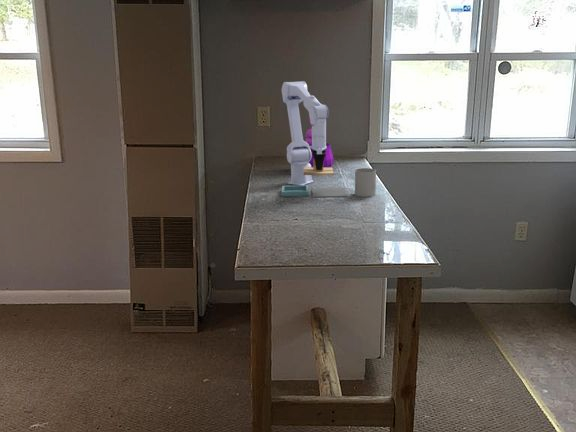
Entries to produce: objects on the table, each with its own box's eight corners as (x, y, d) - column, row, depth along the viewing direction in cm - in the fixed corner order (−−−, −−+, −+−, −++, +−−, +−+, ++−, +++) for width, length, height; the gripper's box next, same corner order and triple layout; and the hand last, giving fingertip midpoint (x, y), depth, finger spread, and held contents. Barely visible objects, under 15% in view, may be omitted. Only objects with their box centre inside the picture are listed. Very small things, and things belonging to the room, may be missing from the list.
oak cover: (303, 169, 258) (303, 157, 256) (332, 169, 257) (332, 157, 256) (303, 175, 246) (303, 163, 245) (333, 175, 246) (333, 163, 244)
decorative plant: (290, 168, 305) (289, 107, 296) (325, 165, 310) (325, 105, 302) (302, 175, 287) (301, 110, 279) (339, 172, 292) (339, 108, 284)
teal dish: (282, 190, 260) (282, 185, 259) (308, 190, 260) (308, 185, 259) (281, 196, 249) (281, 192, 249) (308, 196, 249) (308, 191, 248)
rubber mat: (311, 189, 261) (311, 188, 261) (344, 188, 261) (344, 187, 261) (312, 197, 247) (312, 196, 247) (347, 196, 247) (347, 195, 247)
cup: (374, 197, 246) (375, 172, 244) (354, 196, 248) (354, 172, 245) (375, 192, 254) (376, 168, 252) (356, 191, 256) (356, 167, 253)
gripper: (308, 133, 255) (309, 165, 258) (309, 138, 241) (309, 172, 244) (325, 132, 254) (325, 165, 258) (327, 138, 240) (327, 172, 244)
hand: (319, 168), depth 251 cm, fingers closed on oak cover, 4 cm apart
